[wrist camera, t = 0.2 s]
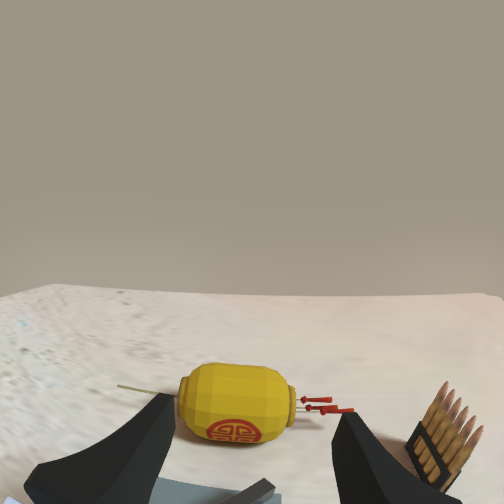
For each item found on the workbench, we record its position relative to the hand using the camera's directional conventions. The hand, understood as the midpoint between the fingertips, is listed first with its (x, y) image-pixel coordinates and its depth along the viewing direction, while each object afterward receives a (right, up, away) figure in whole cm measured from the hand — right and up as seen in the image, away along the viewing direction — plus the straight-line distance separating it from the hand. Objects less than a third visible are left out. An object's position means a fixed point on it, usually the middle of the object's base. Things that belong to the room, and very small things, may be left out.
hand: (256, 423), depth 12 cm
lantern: (-3, -16, +25) cm, 30 cm away
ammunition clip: (+22, -21, +17) cm, 35 cm away
